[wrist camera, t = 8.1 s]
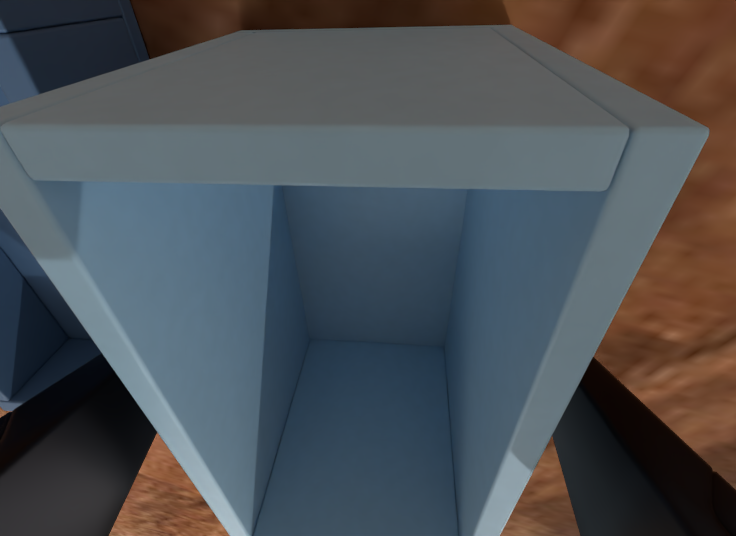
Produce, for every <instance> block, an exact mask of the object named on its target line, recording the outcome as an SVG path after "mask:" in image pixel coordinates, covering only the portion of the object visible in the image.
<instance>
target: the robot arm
mask: <svg viewBox="0 0 736 536" xmlns="http://www.w3.org/2000/svg"><path fill="white" fill-rule="evenodd" d="M156 434H157V431H156V429H155V428H154V427H153V425H152V424H151V422H150V421H149V420H148V418H147V417H146V415H145V414H144V412H143V411H142V410H141V408H140V407H139V405H138V404H137V402H136V401H135V400H134V398H133V397H132V395H131V394H130V392H129V391H128V390H127V388H126V387H125V385H124V384H123V382H122V381H121V380H120V378H119V377H118V375H117V374H116V372H115V371H114V370H113V368H112V367H111V365H110V364H109V363H108V361H107V360H106V358H105V357H104V355H103V354H102V353H101V354H99V355H98V356H96V357H95V358H93V359H92V360H90V361H88V362H87V363H85V364H84V365H82V366H81V367H79V368H78V369H76V370H74V371H73V372H71V373H70V374H68V375H67V376H65V377H63V378H62V379H60V380H59V381H57V382H56V383H54V384H53V385H51V386H49V387H48V388H46V389H45V390H43V391H42V392H40V393H38V394H37V395H35V396H34V397H32V398H31V399H29V400H28V401H26V402H24V403H23V404H21V405H20V406H18V407H17V408H15V409H14V410H13V411H12V412H9V413H7V414H6V415H4V416H2V417H1V418H0V536H109V533H110V531H111V529H112V527H113V525H114V523H115V521H116V519H117V516H118V514H119V512H120V510H121V508H122V506H123V504H124V502H125V499H126V497H127V495H128V493H129V491H130V489H131V487H132V485H133V482H134V480H135V478H136V476H137V474H138V472H139V470H140V468H141V466H142V463H143V461H144V459H145V457H146V455H147V453H148V451H149V449H150V446H151V444H152V442H153V440H154V438H155V436H156ZM552 436H553V440H554V443H555V447H556V450H557V454H558V458H559V461H560V465H561V468H562V472H563V475H564V479H565V482H566V486H567V489H568V493H569V497H570V500H571V504H572V507H573V511H574V514H575V518H576V521H577V525H578V528H579V532H580V535H581V536H736V490H735V489H734V488H733V487H732V486H731V485H730V484H729V483H728V482H727V481H726V480H725V479H723V478H722V477H721V476H720V475H719V474H718V473H717V472H714V471H712V468H711V467H710V466H709V465H708V464H707V463H706V462H705V461H704V460H703V459H702V458H701V457H700V456H699V455H698V454H697V453H695V452H694V451H693V450H692V449H691V448H690V447H689V446H688V445H687V444H686V443H685V442H684V441H683V440H682V439H681V438H679V437H678V436H677V435H676V434H675V433H674V432H673V431H672V430H671V429H670V428H669V427H668V426H667V425H666V424H664V423H663V422H662V421H661V420H660V419H659V418H658V417H657V416H656V415H655V414H654V413H653V412H652V411H651V410H650V409H648V408H647V407H646V406H645V405H644V404H643V403H642V402H641V401H640V400H639V399H638V398H637V397H636V396H635V395H634V394H632V393H631V392H630V391H629V390H628V389H627V388H626V387H625V386H624V385H623V384H622V383H621V382H620V381H619V380H617V379H616V378H615V377H614V376H613V375H612V374H611V373H610V372H609V371H608V370H607V369H606V368H605V367H604V366H603V365H601V364H600V363H599V362H598V361H597V360H596V359H595V358H594V357H593V358H592V360H591V362H590V364H589V366H588V367H587V369H586V371H585V373H584V375H583V377H582V379H581V381H580V383H579V385H578V387H577V389H576V390H575V392H574V394H573V396H572V398H571V400H570V402H569V404H568V406H567V408H566V410H565V411H564V413H563V415H562V417H561V419H560V421H559V423H558V425H557V427H556V429H555V431H554V433H553V434H552Z"/></svg>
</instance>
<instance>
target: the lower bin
mask: <svg viewBox="0 0 736 536" xmlns="http://www.w3.org/2000/svg"><path fill="white" fill-rule="evenodd" d="M146 60H150V59H149V56H148V53H147V50H146V47H145V44H144V41H143V38H142V35H141V32H140V30H139V27H138V24H137V21H136V18H135V15H134V12H133V9H132V6H131V3H130V0H0V107H1V106H4V105H8V104H11V103H14V102H17V101H20V100H23V99H26V98H30V97H33V96H36V95H39V94H42V93H45V92H49V91H52V90H55V89H58V88H61V87H64V86H67V85H71V84H74V83H77V82H80V81H83V80H86V79H90V78H93V77H96V76H99V75H102V74H105V73H109V72H112V71H115V70H118V69H121V68H124V67H127V66H131V65H134V64H137V63H140V62H143V61H146ZM99 354H101V351H100V350H99V348H98V347H97V345H96V344H95V343H94V341H93V340H92V338H91V337H90V335H89V334H88V333H87V331H86V330H85V328H84V327H83V325H82V324H81V323H80V321H79V320H78V318H77V317H76V315H75V314H74V313H73V311H72V310H71V308H70V307H69V306H68V304H67V303H66V301H65V300H64V298H63V297H62V296H61V294H60V293H59V291H58V290H57V288H56V287H55V286H54V284H53V283H52V281H51V280H50V278H49V277H48V276H47V274H46V273H45V271H44V270H43V268H42V267H41V266H40V264H39V263H38V261H37V260H36V258H35V257H34V256H33V254H32V253H31V251H30V250H29V249H28V247H27V246H26V244H25V243H24V241H23V240H22V239H21V237H20V236H19V234H18V233H17V231H16V230H15V229H14V227H13V226H12V224H11V223H10V221H9V220H8V219H7V217H6V216H5V214H4V213H3V211H2V210H1V209H0V407H1V408H2V409H3V410H5V411H13V410H14V409H15V408H17V407H18V406H20V405H21V404H23V403H24V402H26V401H28V400H29V399H31V398H32V397H34V396H35V395H37V394H38V393H40V392H42V391H43V390H45V389H46V388H48V387H49V386H51V385H53V384H54V383H56V382H57V381H59V380H60V379H62V378H63V377H65V376H67V375H68V374H70V373H71V372H73V371H74V370H76V369H78V368H79V367H81V366H82V365H84V364H85V363H87V362H88V361H90V360H92V359H93V358H95V357H96V356H98V355H99Z"/></svg>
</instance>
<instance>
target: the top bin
mask: <svg viewBox="0 0 736 536" xmlns="http://www.w3.org/2000/svg"><path fill="white" fill-rule="evenodd" d="M708 136H709V128H708V127H706V126H704V125H702V124H700V123H698V122H696V121H694V120H692V119H690V118H689V117H687V116H685V115H683V114H681V113H679V112H677V111H675V110H673V109H671V108H669V107H667V106H666V105H664V104H662V103H660V102H658V101H656V100H654V99H652V98H650V97H648V96H646V95H645V94H643V93H641V92H639V91H637V90H635V89H633V88H631V87H629V86H627V85H625V84H623V83H622V82H620V81H618V80H616V79H614V78H612V77H610V76H608V75H606V74H604V73H602V72H600V71H599V70H597V69H595V68H593V67H591V66H589V65H587V64H585V63H583V62H581V61H579V60H578V59H576V58H574V57H572V56H570V55H568V54H566V53H564V52H562V51H560V50H558V49H556V48H555V47H553V46H551V45H549V44H547V43H545V42H543V41H541V40H539V39H537V38H535V37H534V36H532V35H530V34H528V33H526V32H524V31H522V30H520V29H518V28H516V27H514V26H513V25H475V26H427V27H379V28H331V29H283V30H241V31H237V32H235V33H232V34H228V35H225V36H222V37H219V38H216V39H213V40H209V41H206V42H203V43H200V44H197V45H194V46H191V47H187V48H184V49H181V50H178V51H175V52H172V53H168V54H165V55H162V56H159V57H156V58H153V59H150V60H146V61H143V62H140V63H137V64H134V65H131V66H127V67H124V68H121V69H118V70H115V71H112V72H109V73H105V74H102V75H99V76H96V77H93V78H90V79H86V80H83V81H80V82H77V83H74V84H71V85H67V86H64V87H61V88H58V89H55V90H52V91H49V92H45V93H42V94H39V95H36V96H33V97H30V98H26V99H23V100H20V101H17V102H14V103H11V104H8V105H4V106H1V107H0V209H1V210H2V211H3V213H4V214H5V216H6V217H7V219H8V220H9V221H10V223H11V224H12V226H13V227H14V229H15V230H16V231H17V233H18V234H19V236H20V237H21V239H22V240H23V241H24V243H25V244H26V246H27V247H28V249H29V250H30V251H31V253H32V254H33V256H34V257H35V258H36V260H37V261H38V263H39V264H40V266H41V267H42V268H43V270H44V271H45V273H46V274H47V276H48V277H49V278H50V280H51V281H52V283H53V284H54V286H55V287H56V288H57V290H58V291H59V293H60V294H61V296H62V297H63V298H64V300H65V301H66V303H67V304H68V306H69V307H70V308H71V310H72V311H73V313H74V314H75V315H76V317H77V318H78V320H79V321H80V323H81V324H82V325H83V327H84V328H85V330H86V331H87V333H88V334H89V335H90V337H91V338H92V340H93V341H94V343H95V344H96V345H97V347H98V348H99V350H100V351H101V353H102V354H103V355H104V357H105V358H106V360H107V361H108V363H109V364H110V365H111V367H112V368H113V370H114V371H115V372H116V374H117V375H118V377H119V378H120V380H121V381H122V382H123V384H124V385H125V387H126V388H127V390H128V391H129V392H130V394H131V395H132V397H133V398H134V400H135V401H136V402H137V404H138V405H139V407H140V408H141V410H142V411H143V412H144V414H145V415H146V417H147V418H148V420H149V421H150V422H151V424H152V425H153V427H154V428H155V429H156V431H157V432H158V434H159V435H160V437H161V438H162V439H163V441H164V442H165V444H166V445H167V447H168V448H169V449H170V451H171V452H172V454H173V455H174V457H175V458H176V459H177V461H178V462H179V464H180V465H181V467H182V468H183V469H184V471H185V472H186V474H187V475H188V477H189V478H190V479H191V481H192V482H193V484H194V485H195V486H196V488H197V489H198V491H199V492H200V494H201V495H202V496H203V498H204V499H205V501H206V502H207V504H208V505H209V506H210V508H211V509H212V511H213V512H214V514H215V515H216V516H217V518H218V519H219V521H220V522H221V524H222V525H223V526H224V528H225V529H226V531H227V532H228V534H229V535H230V536H500V534H501V532H502V530H503V528H504V526H505V524H506V522H507V521H508V519H509V517H510V515H511V513H512V511H513V509H514V507H515V505H516V503H517V501H518V499H519V498H520V496H521V494H522V492H523V490H524V488H525V486H526V484H527V482H528V480H529V478H530V477H531V475H532V473H533V471H534V469H535V467H536V465H537V463H538V461H539V459H540V457H541V455H542V454H543V452H544V450H545V448H546V446H547V444H548V442H549V440H550V438H551V436H552V434H553V433H554V431H555V429H556V427H557V425H558V423H559V421H560V419H561V417H562V415H563V413H564V411H565V410H566V408H567V406H568V404H569V402H570V400H571V398H572V396H573V394H574V392H575V390H576V389H577V387H578V385H579V383H580V381H581V379H582V377H583V375H584V373H585V371H586V369H587V367H588V366H589V364H590V362H591V360H592V358H593V356H594V354H595V352H596V350H597V348H598V346H599V345H600V343H601V341H602V339H603V337H604V335H605V333H606V331H607V329H608V327H609V325H610V323H611V322H612V320H613V318H614V316H615V314H616V312H617V310H618V308H619V306H620V304H621V302H622V301H623V299H624V297H625V295H626V293H627V291H628V289H629V287H630V285H631V283H632V281H633V279H634V278H635V276H636V274H637V272H638V270H639V268H640V266H641V264H642V262H643V260H644V258H645V257H646V255H647V253H648V251H649V249H650V247H651V245H652V243H653V241H654V239H655V237H656V235H657V234H658V232H659V230H660V228H661V226H662V224H663V222H664V220H665V218H666V216H667V214H668V213H669V211H670V209H671V207H672V205H673V203H674V201H675V199H676V197H677V195H678V193H679V191H680V190H681V188H682V186H683V184H684V182H685V180H686V178H687V176H688V174H689V172H690V170H691V169H692V167H693V165H694V163H695V161H696V159H697V157H698V155H699V153H700V151H701V149H702V147H703V146H704V144H705V142H706V140H707V138H708Z"/></svg>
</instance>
